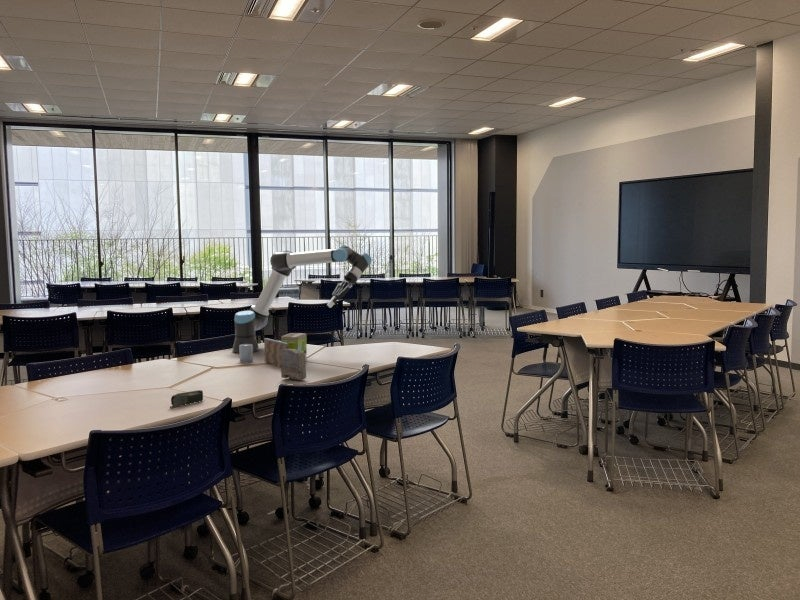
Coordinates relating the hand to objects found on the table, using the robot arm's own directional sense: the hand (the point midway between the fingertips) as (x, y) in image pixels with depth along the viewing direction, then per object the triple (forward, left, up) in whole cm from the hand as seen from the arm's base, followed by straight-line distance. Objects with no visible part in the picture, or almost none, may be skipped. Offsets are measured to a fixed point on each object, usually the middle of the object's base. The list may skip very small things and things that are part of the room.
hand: (328, 306), depth 354 cm
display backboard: (+5, -37, -28) cm, 46 cm away
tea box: (+3, -25, -28) cm, 38 cm away
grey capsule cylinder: (-15, -44, -28) cm, 54 cm away
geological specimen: (+43, -48, -28) cm, 70 cm away
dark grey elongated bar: (+53, -103, -28) cm, 119 cm away
